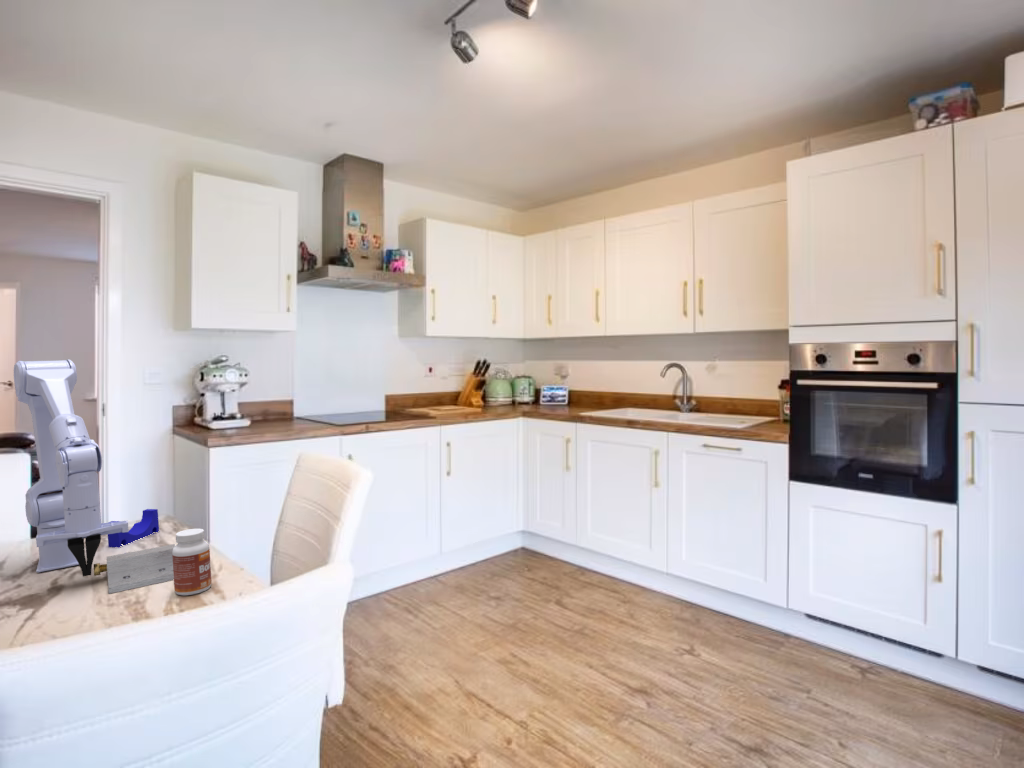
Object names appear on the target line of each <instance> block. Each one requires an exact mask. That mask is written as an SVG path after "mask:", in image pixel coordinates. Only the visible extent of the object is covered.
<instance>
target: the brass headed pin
mask: <svg viewBox="0 0 1024 768" xmlns="http://www.w3.org/2000/svg"><path fill="white" fill-rule="evenodd" d="M105 572H107V563H103V564H100V562H98V563H94V564H93V576H94V577H96V576H101V573H105Z"/></svg>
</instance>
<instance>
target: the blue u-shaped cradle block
mask: <svg viewBox="0 0 1024 768" xmlns="http://www.w3.org/2000/svg"><path fill="white" fill-rule="evenodd" d="M110 522H120V521H119V520H111V521H109V522H107V523H110ZM159 524H160V523H159V510H158V509H157V508H147V509H143V510H142V516H141V520H140V521H138V522H136V523H134V524H133V525H132V527H131V528H130V529H128V530H129V532H124V533H122V532H119V533H113V534H107V542H108V543H107V546H108V548H115V547H120V546H122V545H121V544H123V545H125V546H127V545H129V544H128V543H130V544H132V543H134V542H133V541H135V540H137V541H139V540H138V539H140V538H142V539H144V538H143V537H145V536H147V537H149V536H148V535H150V534H152V533H153V532H157V533H159V532H160V526H159ZM158 531H159V532H158ZM152 535H153V534H152ZM150 536H151V535H150ZM145 538H146V537H145ZM140 540H141V539H140ZM131 542H132V543H131ZM135 542H136V541H135ZM126 544H127V545H126ZM122 547H123V546H122ZM120 548H121V547H120Z"/></svg>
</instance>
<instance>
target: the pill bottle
mask: <svg viewBox="0 0 1024 768" xmlns="http://www.w3.org/2000/svg"><path fill="white" fill-rule="evenodd" d="M204 539H205V530H204V529H203V528H188V529H184V530H181V531H177V532H176V533H175V542H176V543H177V544H175V547H174V548H173V550H172V558H173V574H174V580H173V589H174V592H175V594H176V595H178V596H191V595H197V594H200V593H203V592H205V591H207V590H209V589H210V587H211V586H212V569H211V568H212V567H211V549H210V544H209V543H208V542H207V541H206V540H204Z"/></svg>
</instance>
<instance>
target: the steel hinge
mask: <svg viewBox="0 0 1024 768" xmlns="http://www.w3.org/2000/svg"><path fill="white" fill-rule="evenodd" d="M175 546H176V544H174V543H173V544H167V545H162V546H156V547H152V548H147V549H141V550H140V549H139V550H136V551H135V550H134V551H130V552H124V553H119V554H115V555H109V556H106V557H105V559H106V564H107V571H106V572H107V586H108V594H114V593H119V592H124V591H127V590H128V591H129V590H133V589H138V588H142V587H146V586H150V585H151V586H152V585H156V584H160V583H165V582H170V581H174V580H173V579H174V574H173V558H172V550H173V548H174V547H175ZM169 580H170V581H169Z"/></svg>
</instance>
